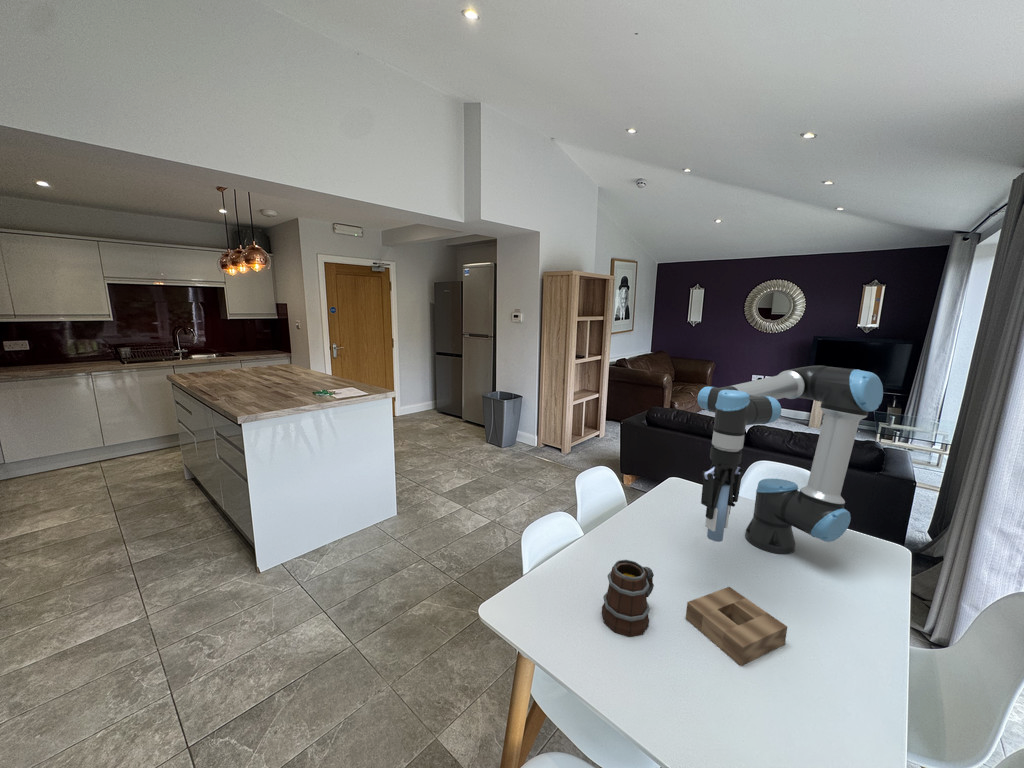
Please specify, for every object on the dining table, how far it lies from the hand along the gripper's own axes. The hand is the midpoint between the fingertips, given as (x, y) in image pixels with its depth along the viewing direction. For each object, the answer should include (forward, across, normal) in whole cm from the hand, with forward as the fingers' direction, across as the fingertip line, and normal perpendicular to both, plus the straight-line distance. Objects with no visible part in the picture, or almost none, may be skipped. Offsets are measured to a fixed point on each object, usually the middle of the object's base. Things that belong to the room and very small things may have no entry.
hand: (716, 527), depth 114 cm
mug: (+22, +27, -1) cm, 34 cm away
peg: (+3, 0, 0) cm, 3 cm away
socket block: (+21, +5, +13) cm, 25 cm away
